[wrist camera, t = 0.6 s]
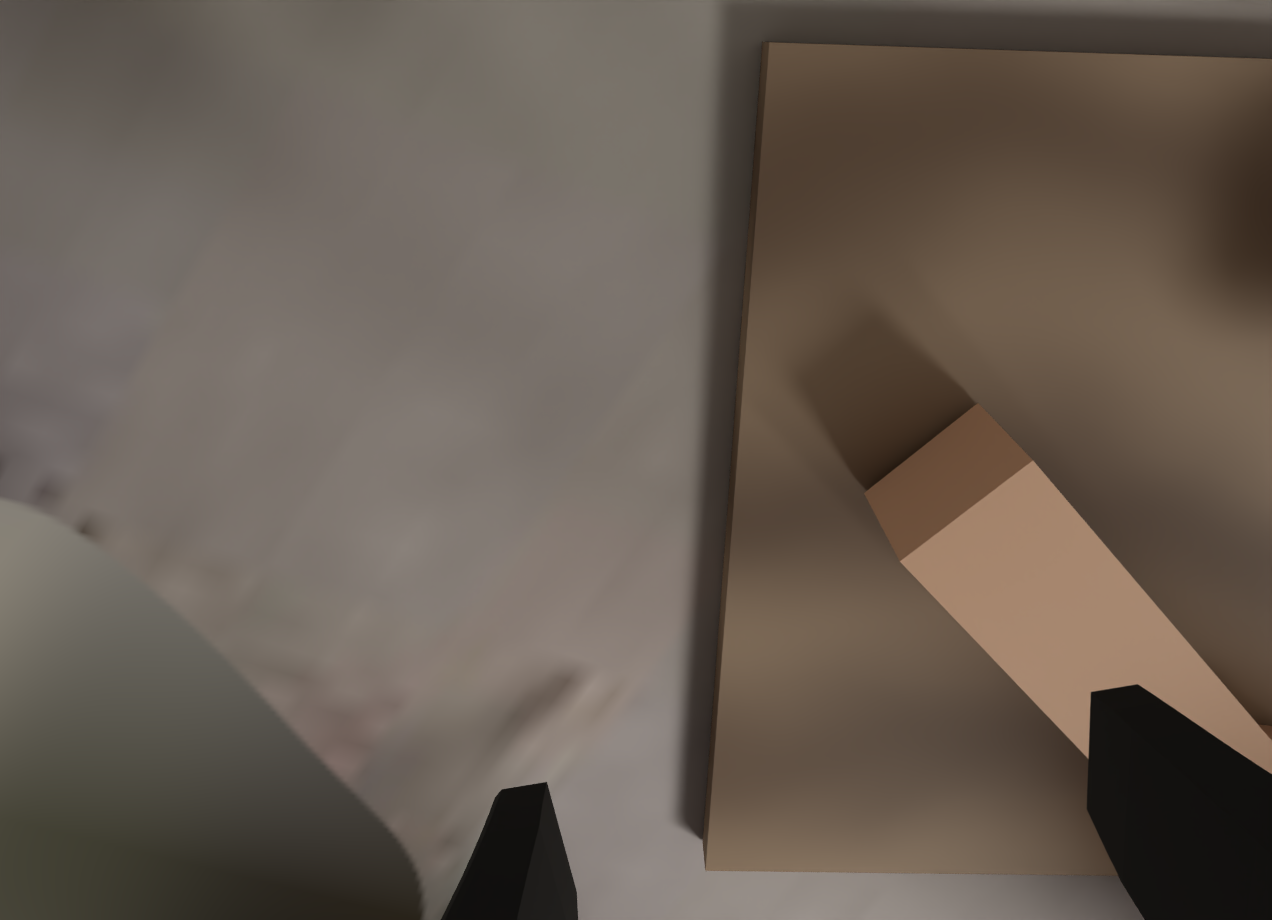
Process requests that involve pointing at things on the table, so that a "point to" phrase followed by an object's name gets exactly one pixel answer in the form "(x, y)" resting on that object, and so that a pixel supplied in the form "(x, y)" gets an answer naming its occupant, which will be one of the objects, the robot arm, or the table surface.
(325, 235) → the table surface
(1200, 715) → the pivot arm
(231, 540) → the table surface
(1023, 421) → the walnut plate
